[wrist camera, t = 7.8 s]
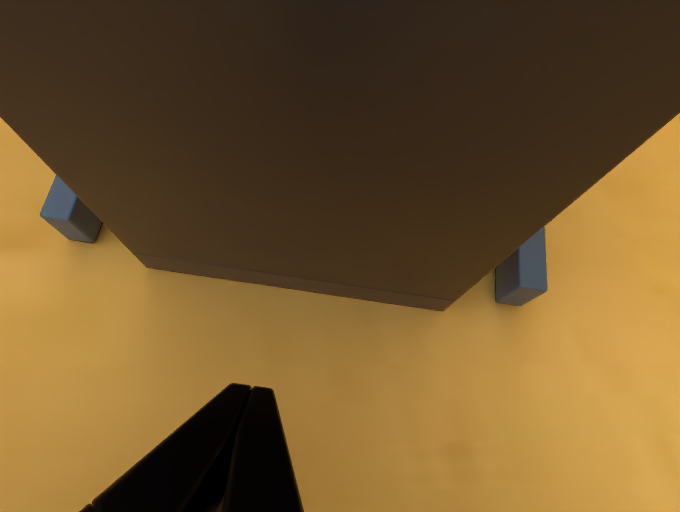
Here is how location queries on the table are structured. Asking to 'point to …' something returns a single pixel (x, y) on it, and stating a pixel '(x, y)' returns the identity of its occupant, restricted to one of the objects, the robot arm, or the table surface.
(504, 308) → the table surface
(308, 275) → the coffee maker
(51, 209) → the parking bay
